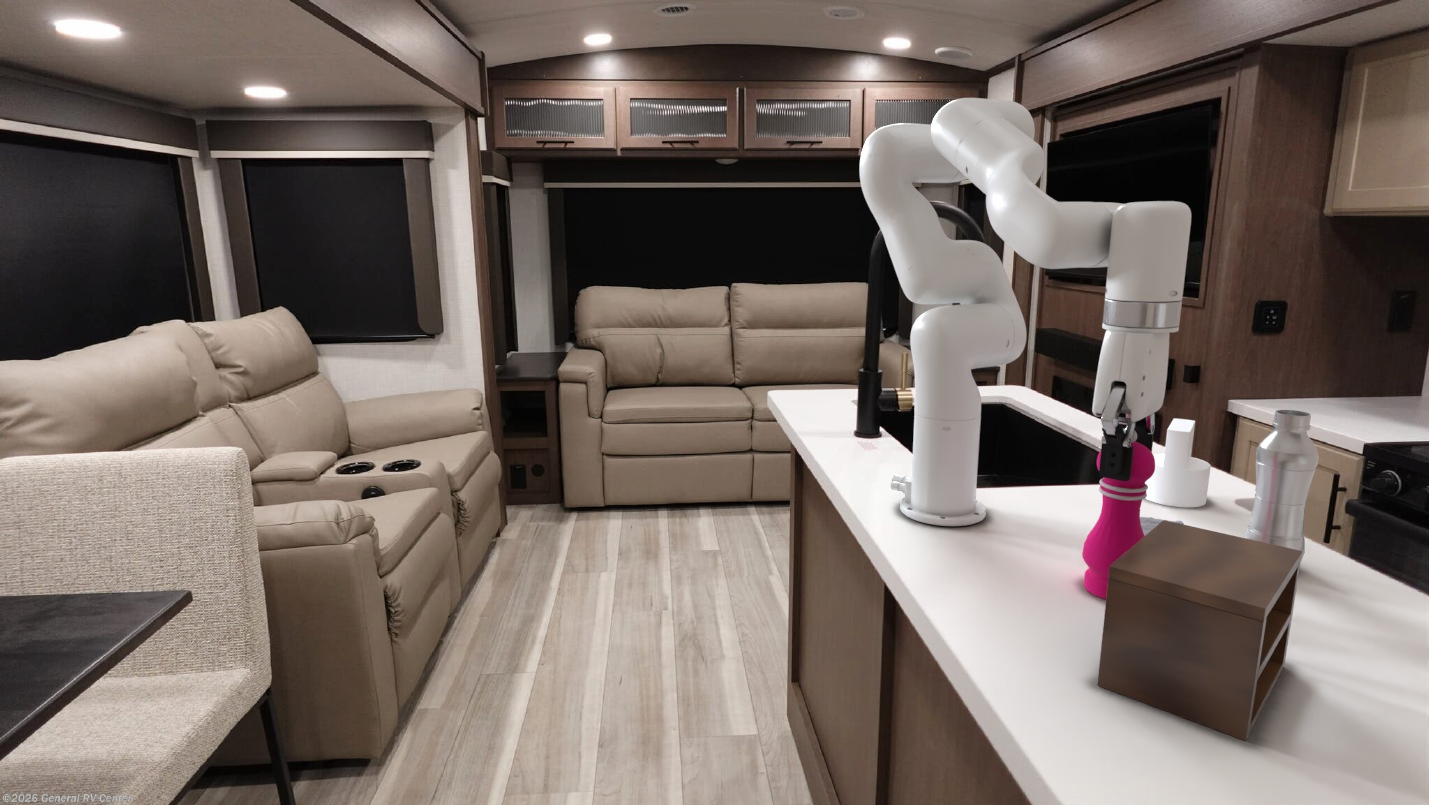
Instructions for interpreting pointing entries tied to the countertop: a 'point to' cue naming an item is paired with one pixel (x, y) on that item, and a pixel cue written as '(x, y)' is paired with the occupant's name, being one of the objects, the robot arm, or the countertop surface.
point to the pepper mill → (1117, 519)
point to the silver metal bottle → (1283, 481)
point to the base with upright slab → (1179, 470)
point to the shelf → (1199, 624)
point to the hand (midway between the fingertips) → (1124, 470)
